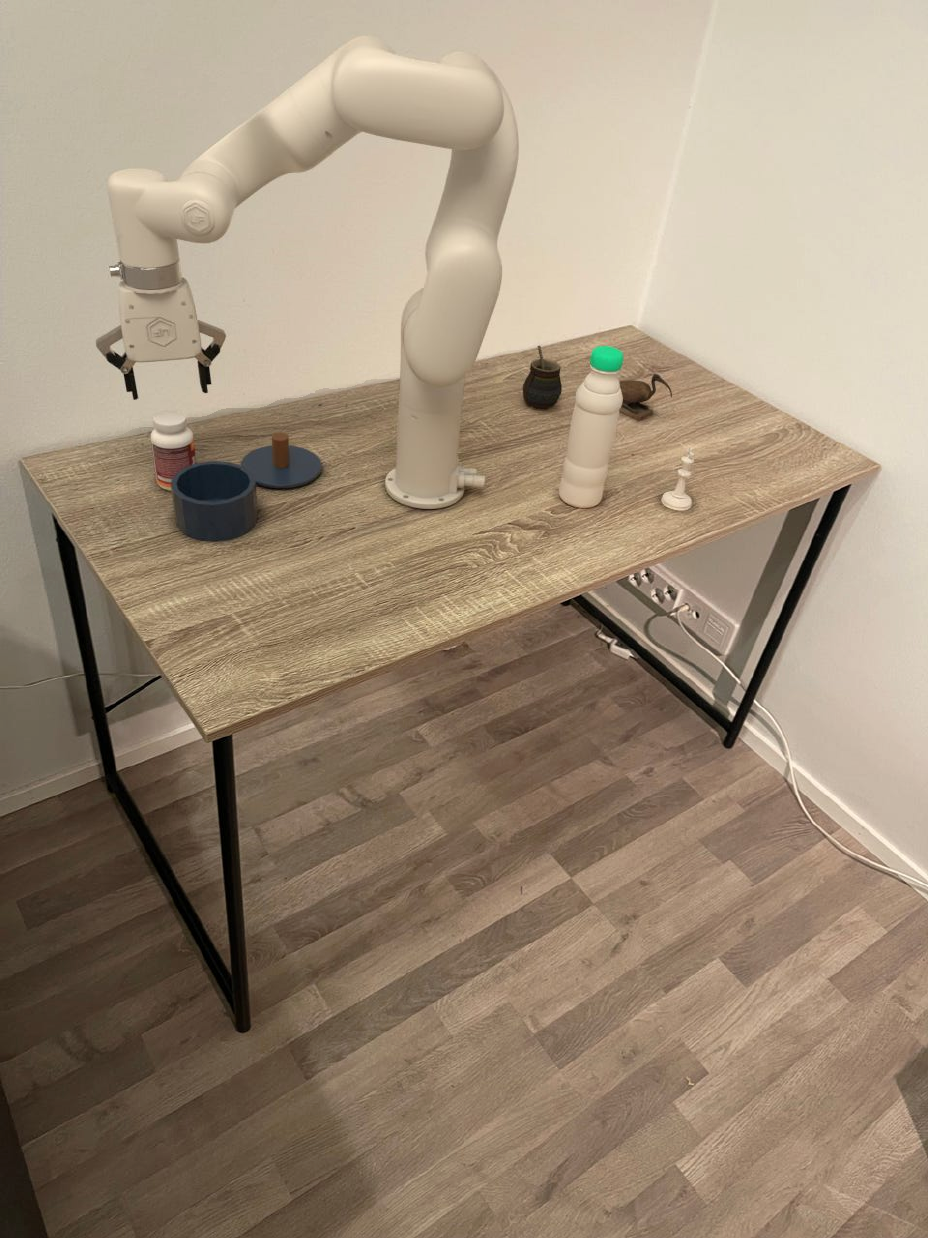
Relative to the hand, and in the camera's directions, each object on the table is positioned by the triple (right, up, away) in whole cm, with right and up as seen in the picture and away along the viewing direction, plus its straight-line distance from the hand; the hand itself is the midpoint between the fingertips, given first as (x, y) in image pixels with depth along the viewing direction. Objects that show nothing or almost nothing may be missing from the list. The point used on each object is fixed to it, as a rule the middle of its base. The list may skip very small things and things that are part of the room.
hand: (170, 392), depth 134 cm
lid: (+13, -8, +14) cm, 21 cm away
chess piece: (+77, -14, +18) cm, 80 cm away
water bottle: (+61, -13, +16) cm, 65 cm away
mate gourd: (+56, +7, +41) cm, 70 cm away
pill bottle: (-2, -12, +10) cm, 15 cm away
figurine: (+74, +6, +42) cm, 86 cm away
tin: (+6, -18, +3) cm, 19 cm away
